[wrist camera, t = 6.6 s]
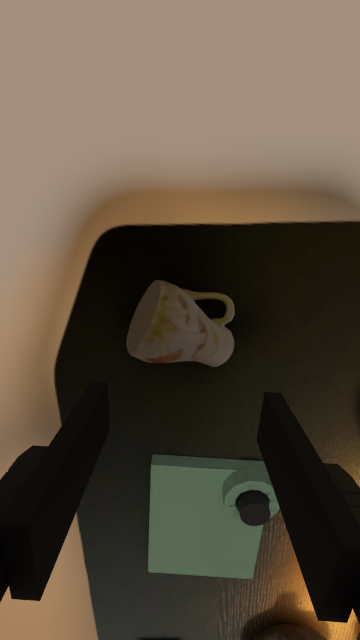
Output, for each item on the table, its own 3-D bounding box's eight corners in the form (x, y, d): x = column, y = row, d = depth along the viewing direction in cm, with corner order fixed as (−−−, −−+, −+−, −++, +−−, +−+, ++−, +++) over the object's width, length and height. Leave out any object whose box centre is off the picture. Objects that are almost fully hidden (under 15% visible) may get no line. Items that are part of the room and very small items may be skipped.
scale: (152, 449, 32) (148, 474, 29) (274, 457, 32) (284, 483, 29) (149, 557, 38) (145, 589, 34) (253, 565, 37) (260, 597, 34)
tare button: (238, 487, 29) (241, 502, 28) (268, 489, 29) (272, 504, 28) (235, 509, 30) (238, 525, 29) (263, 511, 30) (268, 527, 29)
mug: (217, 372, 29) (164, 419, 21) (158, 312, 32) (90, 332, 23) (262, 324, 25) (220, 357, 17) (191, 260, 28) (124, 263, 20)
